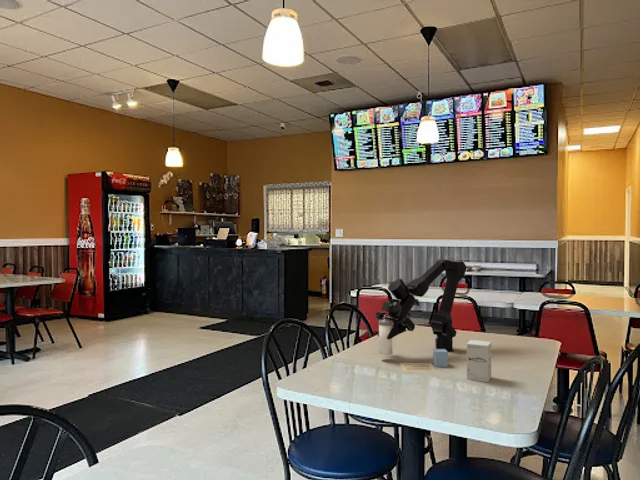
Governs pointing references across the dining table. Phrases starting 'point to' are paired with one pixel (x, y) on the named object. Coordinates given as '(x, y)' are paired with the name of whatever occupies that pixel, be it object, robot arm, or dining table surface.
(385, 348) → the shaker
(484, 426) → the dining table surface
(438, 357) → the blue block
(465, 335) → the dining table surface
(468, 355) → the supplement box
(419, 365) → the letter card
